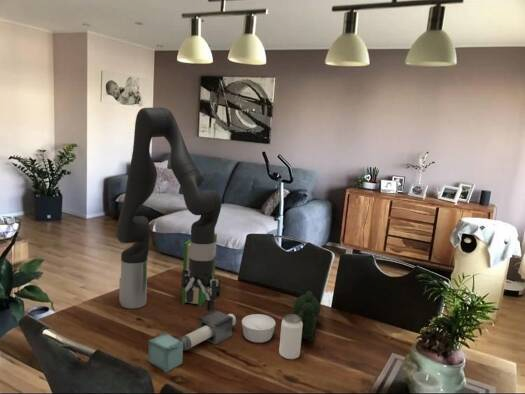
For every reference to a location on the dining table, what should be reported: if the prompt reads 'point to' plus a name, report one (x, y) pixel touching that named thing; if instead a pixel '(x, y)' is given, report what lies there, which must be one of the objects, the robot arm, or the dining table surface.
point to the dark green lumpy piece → (307, 314)
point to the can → (290, 336)
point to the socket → (165, 352)
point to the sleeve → (217, 325)
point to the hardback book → (198, 293)
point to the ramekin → (258, 327)
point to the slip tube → (199, 335)
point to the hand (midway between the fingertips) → (199, 306)
